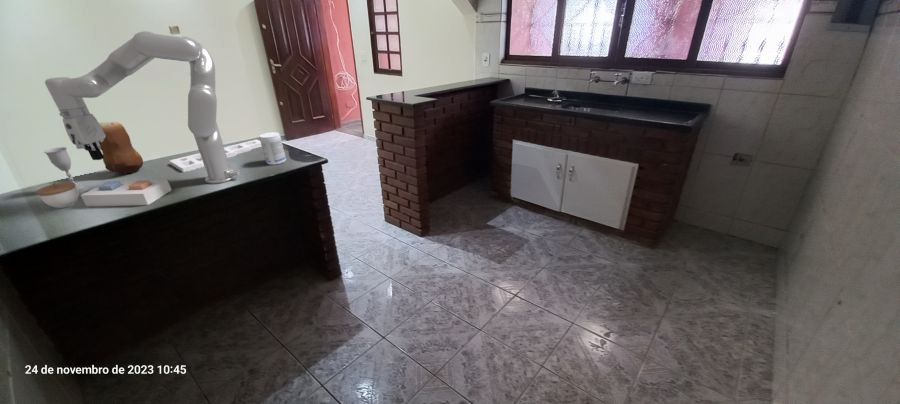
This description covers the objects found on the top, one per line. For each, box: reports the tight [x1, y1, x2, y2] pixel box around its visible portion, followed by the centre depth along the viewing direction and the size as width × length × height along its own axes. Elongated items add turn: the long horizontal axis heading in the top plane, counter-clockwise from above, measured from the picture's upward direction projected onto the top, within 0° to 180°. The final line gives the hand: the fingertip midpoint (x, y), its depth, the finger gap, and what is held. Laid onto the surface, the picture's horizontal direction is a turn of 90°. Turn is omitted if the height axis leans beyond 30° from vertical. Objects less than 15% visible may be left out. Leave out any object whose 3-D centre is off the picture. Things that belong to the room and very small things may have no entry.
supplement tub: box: [259, 131, 287, 166], centre depth 180 cm, size 10×10×15 cm
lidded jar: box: [36, 181, 80, 209], centre depth 139 cm, size 11×11×9 cm
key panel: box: [80, 179, 172, 207], centre depth 145 cm, size 24×14×5 cm, turn 92°
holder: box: [169, 139, 262, 173], centre depth 192 cm, size 45×18×3 cm, turn 142°
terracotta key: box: [129, 181, 152, 190], centre depth 144 cm, size 5×5×3 cm
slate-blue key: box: [97, 180, 122, 191], centre depth 144 cm, size 5×5×3 cm
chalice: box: [43, 146, 85, 191], centre depth 151 cm, size 7×7×18 cm
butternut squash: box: [99, 121, 144, 175], centre depth 166 cm, size 14×13×25 cm
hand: (98, 159), depth 139 cm, fingers closed
